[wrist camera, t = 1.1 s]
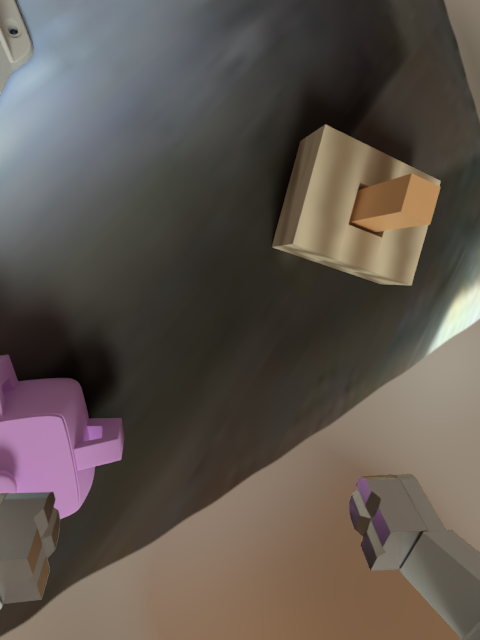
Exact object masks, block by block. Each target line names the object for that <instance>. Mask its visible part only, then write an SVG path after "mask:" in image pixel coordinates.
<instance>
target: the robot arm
mask: <svg viewBox="0 0 480 640" xmlns="http://www.w3.org/2000/svg"><path fill="white" fill-rule="evenodd" d="M12 29H15V30H17V31H18V33H17V34H16V35H12V34H10V33H9V32H10V30H12ZM33 50H34V49H33V44H32V42H31V39H30V37H29V34H28V32H27V29H26V26H25V24H24V21H23V19H22V16H21V14H20V11H19V9H18V6H17V4H16V1H15V0H0V95H1V93H2V91H3V89H4V87H5V85H6V83H7V81H8V79H9V77H10V75H11V74H12V73H13V71H15V70H16V69H18V68H19V67H20V66H22V65H23V64H25V63H26V62H27V61H28V60H29V59H30V58H31V56H32V55H33ZM356 486H357V488H358V490H357V491H356V492H354V493H353V494H352V496H351V499H350V502H349V508H350V516H351V520H352V523H353V526H354V529H355V530H356V531H357V532H358V533H359V534H360V535H362V536H363V539H362V542H361V547H362V550H363V552H364V555H365V557H366V560H367V563H368V565H369V568H370V570H372V571H373V570H391V569H400V572H401V573H402V574H403V575H404V576H405V577H406V578H407V579H408V581H409V582H410V583H411V584H412V585H413V586H414V587H415V588H416V589H417V590H418V592H419V593H420V594H421V595H422V596H423V597H424V598H425V599H426V600H427V601H428V602H429V603H430V605H431V606H432V607H433V608H434V609H435V610H436V611H437V612H438V613H439V615H440V616H441V617H442V618H443V619H444V620H445V621H446V622H447V623H448V624H449V626H450V627H451V628H452V629H453V630H454V631H455V632H456V633H457V634H458V635H459V636H460V638H461V639H462V640H480V552H479V551H478V550H476V549H475V548H474V547H472V546H471V545H470V544H468V543H467V542H466V541H465V540H464V539H462V538H461V537H460V536H459V535H457V534H456V533H455V532H454V531H452V530H446V528H445V527H444V525H443V523H442V521H441V520H440V518H439V516H438V515H437V513H436V511H435V510H434V508H433V506H432V504H431V503H430V501H429V499H428V498H427V496H426V494H425V492H424V491H423V489H422V487H421V486H420V484H419V482H418V480H417V479H416V478H415V477H414V476H413V475H411V474H403V475H379V476H364V477H360V478H359V479H358V481H357V483H356ZM55 500H56V499H55V496H54V492H30V493H0V609H1V608H2V607H3V605H2V604H6V603H15V602H24V601H32V600H41V599H42V596H43V593H44V589H45V585H46V582H47V578H48V574H49V571H50V567H49V564H48V560H47V558H48V557H49V556H50V555H51V554H52V553H53V552H54V550H55V548H56V544H57V541H58V536H59V528H60V515H59V511H58V510H57V509H56V508H54V504H55Z"/></svg>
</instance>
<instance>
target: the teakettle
mask: <svg viewBox="0 0 480 640" xmlns="http://www.w3.org/2000/svg"><path fill="white" fill-rule="evenodd" d="M123 442H124V431H123V424H122V418H89V416H88V412H87V407H86V403H85V399H84V395H83V392H82V388H81V386H80V384H79V382H77V381H76V380H74V379H72V378H48V379H35V380H25V381H18V380H17V377H16V374H15V371H14V368H13V365H12V363H11V360H10V357H9V354H8V355H1V356H0V493H30V492H54V496H55V499H56V500H55V504H54V508H56V509H57V510H58V511H59V515H60V519H62V518H64V517H66V516H69V515H71V514H73V513H74V512H76V511H77V510H79V508H80V507H81V505H82V504H83V502H84V500H85V498H86V496H87V494H88V492H89V490H90V488H91V485H92V482H93V477H94V471H95V466H98V465H102V464H106V463H110V462H114V461H118V460H121V457H122V450H123Z"/></svg>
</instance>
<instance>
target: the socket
mask: <svg viewBox="0 0 480 640" xmlns="http://www.w3.org/2000/svg"><path fill="white" fill-rule="evenodd" d="M411 173H413V174H415V175H417V176H419V177H421V178H423V179H425V180H427V181H429V182H431V183H433V184H435V185H437V186H440V182H441V181H440V180H438V179H435V178H433V177H431V176H429V175H427V174H425V173H423V172H421V171H419V170H417V169H415V168H413V167H411V166H409V165H407V164H405V163H403V162H401V161H399V160H397V159H395V158H393V157H391V156H389V155H387V154H385V153H383V152H381V151H379V150H377V149H374V148H372V147H370V146H368V145H366V144H364V143H362V142H360V141H358V140H356V139H354V138H352V137H350V136H348V135H346V134H344V133H342V132H340V131H338V130H336V129H334V128H332V127H330V126H328V125H326V124H325V125H324V126H322V127H321V128H319V129H318V130H316V131H315V132H313V133H312V134H310V135H309V136H307V137H306V138H304V139H303V140H301V141H300V144H299V148H298V152H297V155H296V159H295V163H294V166H293V170H292V174H291V178H290V181H289V185H288V189H287V192H286V196H285V200H284V203H283V207H282V211H281V214H280V218H279V222H278V226H277V229H276V233H275V237H274V240H273V244H272V247H273V248H276V249H279V250H282V251H285V252H288V253H291V254H294V255H297V256H300V257H303V258H306V259H309V260H311V261H314V262H317V263H320V264H323V265H326V266H329V267H332V268H335V269H338V270H341V271H344V272H347V273H350V274H353V275H356V276H358V277H361V278H364V279H367V280H370V281H373V282H376V283H379V284H390V285H412V281H413V278H414V274H415V270H416V267H417V263H418V260H419V256H420V253H421V249H422V246H423V242H424V239H425V235H426V232H427V228H428V225H422V226H415V227H408V228H401V229H394V230H387V231H380V232H373V233H369V232H366V231H364V230H361V229H359V228H356V227H354V226H351V225H349V220H350V217H351V213H352V209H353V206H354V202H355V199H356V195H357V191H358V190H361V189H364V188H367V187H370V186H373V185H376V184H379V183H383V182H386V181H389V180H392V179H395V178H398V177H401V176H404V175H408V174H411Z"/></svg>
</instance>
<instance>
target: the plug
mask: <svg viewBox="0 0 480 640" xmlns="http://www.w3.org/2000/svg"><path fill="white" fill-rule="evenodd" d="M440 188H441V187H439V186H437V185H435V184H433V183H431V182H429V181H427V180H425V179H423V178H421V177H419V176H417V175H415V174H413V173H411V174H408V175H404V176H401V177H398V178H395V179H392V180H389V181H386V182H383V183H379V184H376V185H373V186H370V187H367V188H364V189H361V190H358V191H357V195H356V199H355V202H354V206H353V209H352V213H351V217H350V220H349V225H351V226H354V227H356V228H359V229H361V230H364V231H366V232H369V233H373V232H380V231H387V230H394V229H401V228H408V227H415V226H422V225H428V224H430V223H431V220H432V216H433V213H434V209H435V205H436V202H437V198H438V195H439V191H440Z"/></svg>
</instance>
